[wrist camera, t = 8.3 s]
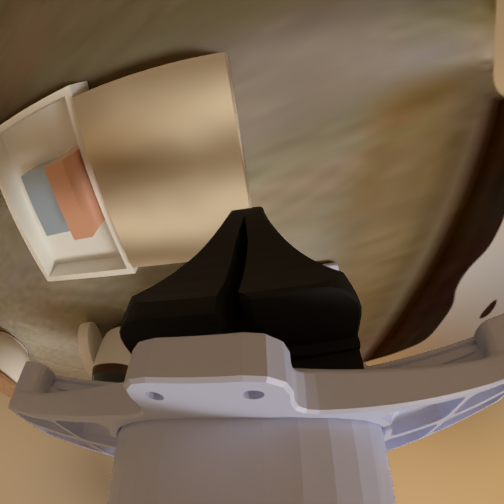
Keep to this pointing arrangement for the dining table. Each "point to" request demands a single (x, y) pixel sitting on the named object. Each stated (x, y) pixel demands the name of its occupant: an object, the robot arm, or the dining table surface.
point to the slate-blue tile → (44, 200)
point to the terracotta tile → (75, 194)
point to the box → (11, 185)
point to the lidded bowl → (11, 362)
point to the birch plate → (166, 156)
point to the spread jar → (103, 353)
